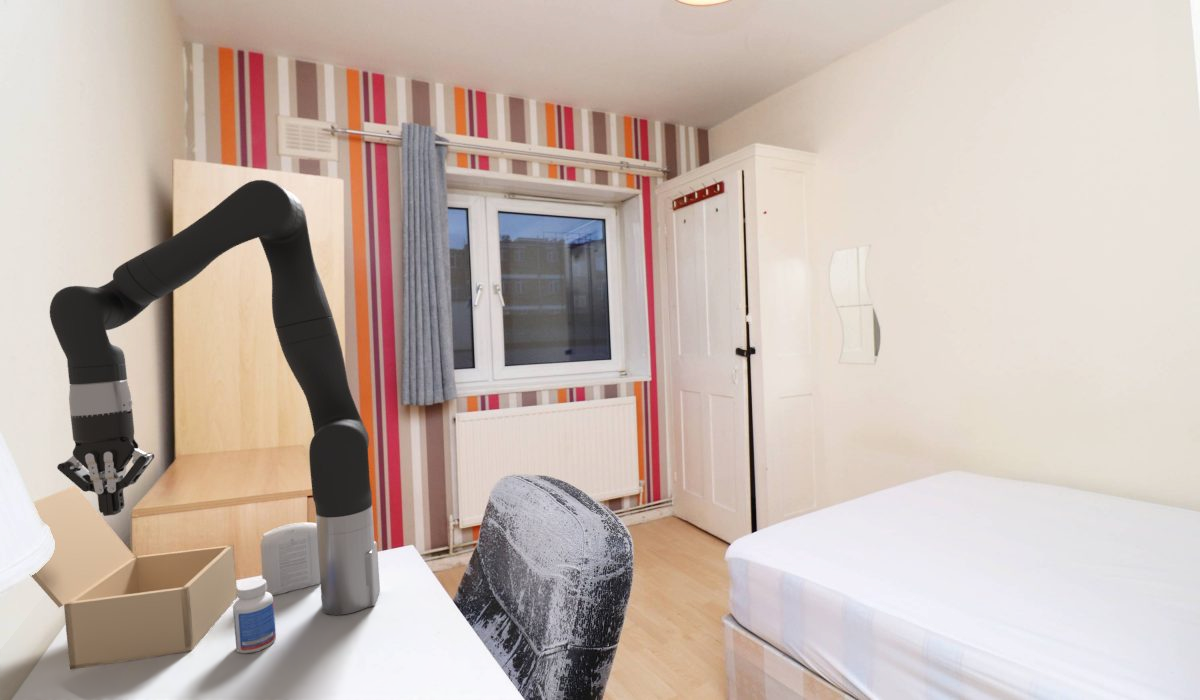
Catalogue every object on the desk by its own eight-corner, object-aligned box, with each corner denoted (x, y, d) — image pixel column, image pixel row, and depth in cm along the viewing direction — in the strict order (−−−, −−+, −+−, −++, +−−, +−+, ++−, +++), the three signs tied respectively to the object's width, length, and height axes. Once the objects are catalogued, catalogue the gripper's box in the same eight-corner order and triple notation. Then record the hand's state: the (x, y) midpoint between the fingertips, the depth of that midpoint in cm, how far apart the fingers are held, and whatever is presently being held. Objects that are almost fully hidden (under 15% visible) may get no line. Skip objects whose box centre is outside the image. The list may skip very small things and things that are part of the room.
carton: (237, 597, 105) (233, 544, 105) (191, 651, 88) (186, 588, 87) (138, 610, 101) (134, 556, 101) (69, 669, 84) (63, 604, 83)
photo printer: (322, 576, 113) (318, 515, 112) (325, 583, 109) (321, 521, 109) (262, 591, 107) (258, 527, 106) (264, 600, 104) (259, 534, 103)
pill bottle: (283, 638, 90) (279, 579, 90) (250, 657, 85) (246, 595, 85) (261, 632, 92) (257, 574, 92) (228, 650, 87) (223, 589, 87)
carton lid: (75, 485, 99) (40, 506, 97) (-12, 520, 81) (-56, 546, 80) (134, 556, 101) (101, 577, 100) (63, 605, 83) (21, 631, 82)
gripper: (35, 417, 86) (48, 527, 87) (135, 409, 89) (146, 516, 90) (69, 410, 93) (80, 512, 94) (160, 403, 96) (170, 502, 97)
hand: (112, 513), depth 92 cm, fingers closed
